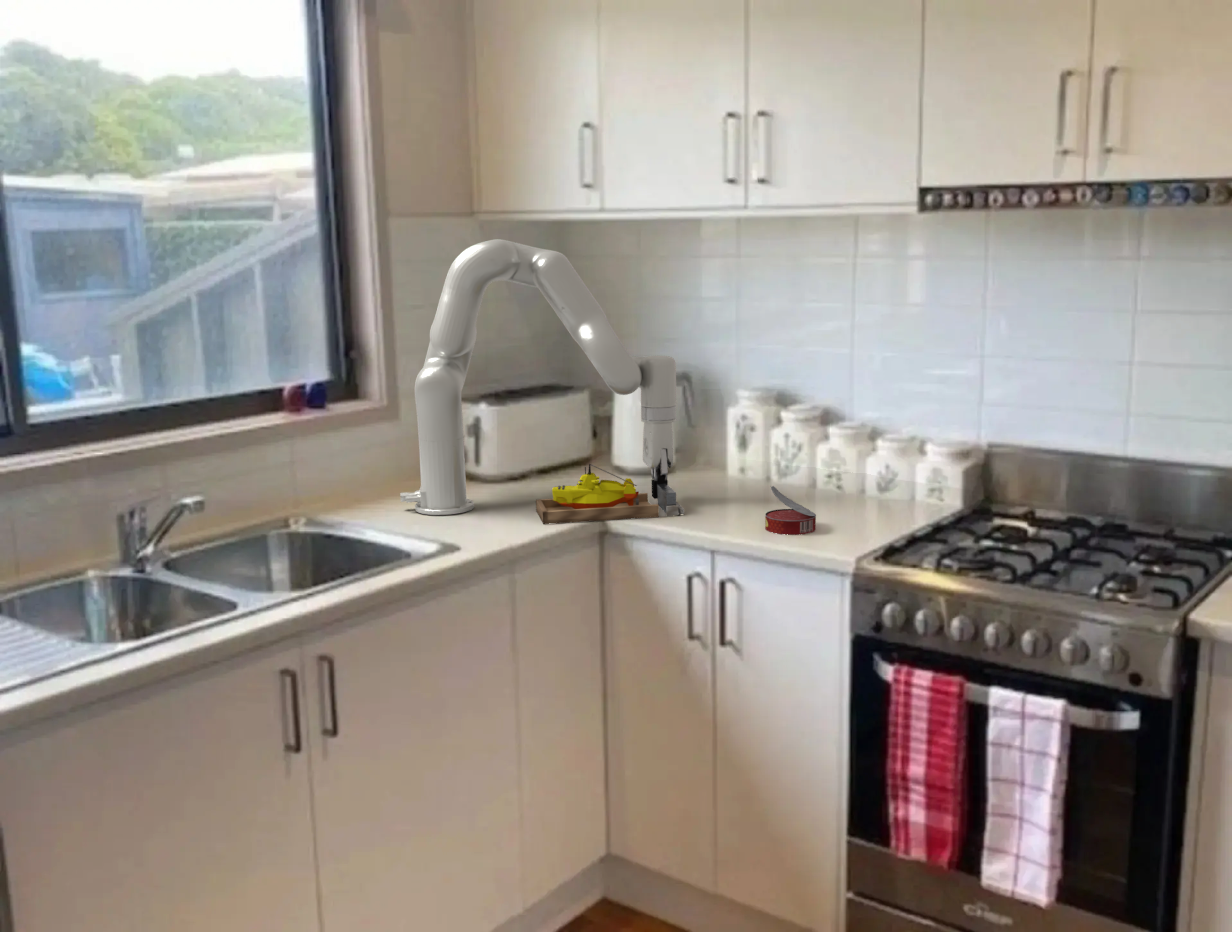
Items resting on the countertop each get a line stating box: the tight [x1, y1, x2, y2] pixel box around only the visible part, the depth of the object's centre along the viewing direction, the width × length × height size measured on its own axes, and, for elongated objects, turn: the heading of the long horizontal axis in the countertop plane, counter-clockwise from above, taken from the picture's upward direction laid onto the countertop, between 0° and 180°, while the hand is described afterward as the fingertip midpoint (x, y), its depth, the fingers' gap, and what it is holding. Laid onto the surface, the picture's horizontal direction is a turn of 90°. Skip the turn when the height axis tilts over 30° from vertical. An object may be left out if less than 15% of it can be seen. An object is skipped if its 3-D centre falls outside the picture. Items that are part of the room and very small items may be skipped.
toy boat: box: [551, 463, 640, 509], centre depth 252 cm, size 6×18×10 cm, turn 91°
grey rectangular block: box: [657, 484, 677, 514], centre depth 255 cm, size 2×9×4 cm, turn 10°
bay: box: [535, 492, 685, 525], centre depth 257 cm, size 30×20×2 cm
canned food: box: [764, 485, 817, 536], centre depth 237 cm, size 11×10×10 cm
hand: (659, 497), depth 262 cm, fingers closed
